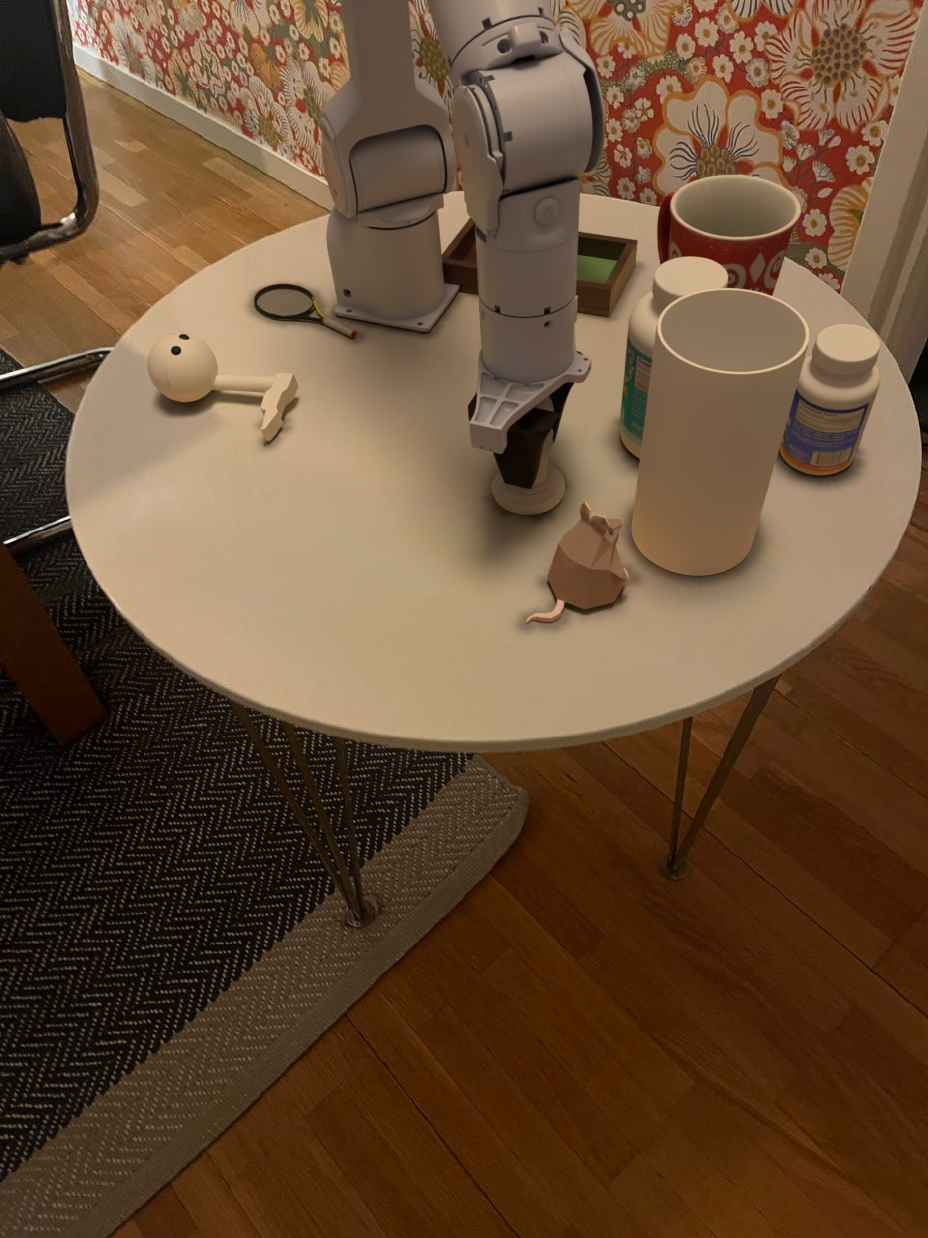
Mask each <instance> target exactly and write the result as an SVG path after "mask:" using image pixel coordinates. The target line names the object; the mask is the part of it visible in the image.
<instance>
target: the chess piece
mask: <svg viewBox="0 0 928 1238" xmlns="http://www.w3.org/2000/svg"><path fill="white" fill-rule="evenodd" d="M534 408H539V409H544V410H549V411H554V410H553V404H552V401H551V399H550V397H549V396H548V397H546V398H545V399H544V400H542V401H541V402H540V403H539V404H537V405H536V406H535V407H534ZM552 438H553V429H551V430H550V432H549V433H548V435H547V436H546V438H545V441H544V445H543V448H542V453H541V459H540V465H539V470H538V474H537V477H536V480H535V482H534V484H533V486H532V488H531V489H526V488H522V487H518V486H514V485H509V484H505V483H504V481H503V478H502V476H501V473H500V471H499V470H498V471H497V473H496V474H495V475H494V477H493V480H492V483H491V493H492V494H491V495H492V496H493V498H494V500H495V502H496V503H497V504H498V506H500V507H501V508H502V509H504V510H505V511H507V512H510V513H513V514H517V515H522V516H534V515H540V514H543V513H546V512H548V511H550V510H552V509H554V508H555V507H556V506H557V505H559V503H560V502H561V501H562V499H563V497H564V496H565V492H566V482H565V480H564V477H563V475H562V473H561V472H560V471H559V470H558V468H556V467H554V466H553V465H552V464H550V463H549V455H550V453H551V451H552V449H553V447H554V445H553V439H552Z"/></svg>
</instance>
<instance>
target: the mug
mask: <svg viewBox="0 0 928 1238" xmlns="http://www.w3.org/2000/svg"><path fill="white" fill-rule="evenodd" d="M801 215H802V205H801V202H800V201H799V199H798V197H797V196H796V195H795V193H793V192H792V191H790V190H789V189H788V188H786V187H784V186H783V185H780V184H778V183H776V182H774V181H771V180H768V179H765V178H760V177H757V176H751V175H743V174H719V175H712V176H707V177H703V178H699V179H696V180H693V181H691V182H688V183H687V184H684V185H683V186H681V187H680V188H678V189H676V190H673V191H671V192H669V193H667V194H666V195H664V197H663V199H662V201H661V203H660V206H659V210H658V215H657V222H656V223H657V224H656V241H657V252H658V260H659V266H660V265H661V264H663V263H664V262H666V261H669V260H671V259H675V258H679V257H702V258H706V259H710V260H712V261H715V262H717V263H718V264H720V265H721V266H723V267H724V269H725V270H726V271H727V274H728V285H727V288H737V289H746V290H752V291H756V292H761V293H764V294H767V295H770V296H773V297H774V293H775V290H776V287H777V283H778V281H779V280H778V279H779V277H780V273H781V270H782V268H783V263H784V261H785V256H786V253H787V250H788V247H789V244H790V241H791V237H792V234H793V232H794V228H795V226H796V225H797V223H798V222H799V220H800V218H801Z"/></svg>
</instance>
